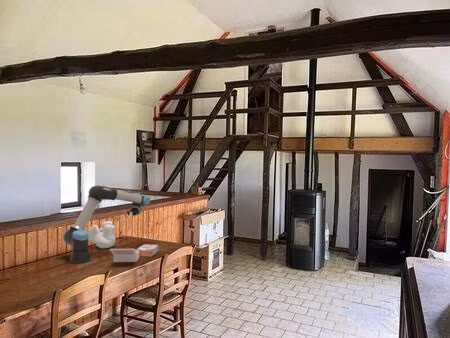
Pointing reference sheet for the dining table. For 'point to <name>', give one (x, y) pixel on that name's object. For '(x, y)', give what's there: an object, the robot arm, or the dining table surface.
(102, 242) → the decorative rooster
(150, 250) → the cracker box
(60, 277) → the dining table surface
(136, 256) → the box
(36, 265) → the dining table surface
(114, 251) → the mailer lid
